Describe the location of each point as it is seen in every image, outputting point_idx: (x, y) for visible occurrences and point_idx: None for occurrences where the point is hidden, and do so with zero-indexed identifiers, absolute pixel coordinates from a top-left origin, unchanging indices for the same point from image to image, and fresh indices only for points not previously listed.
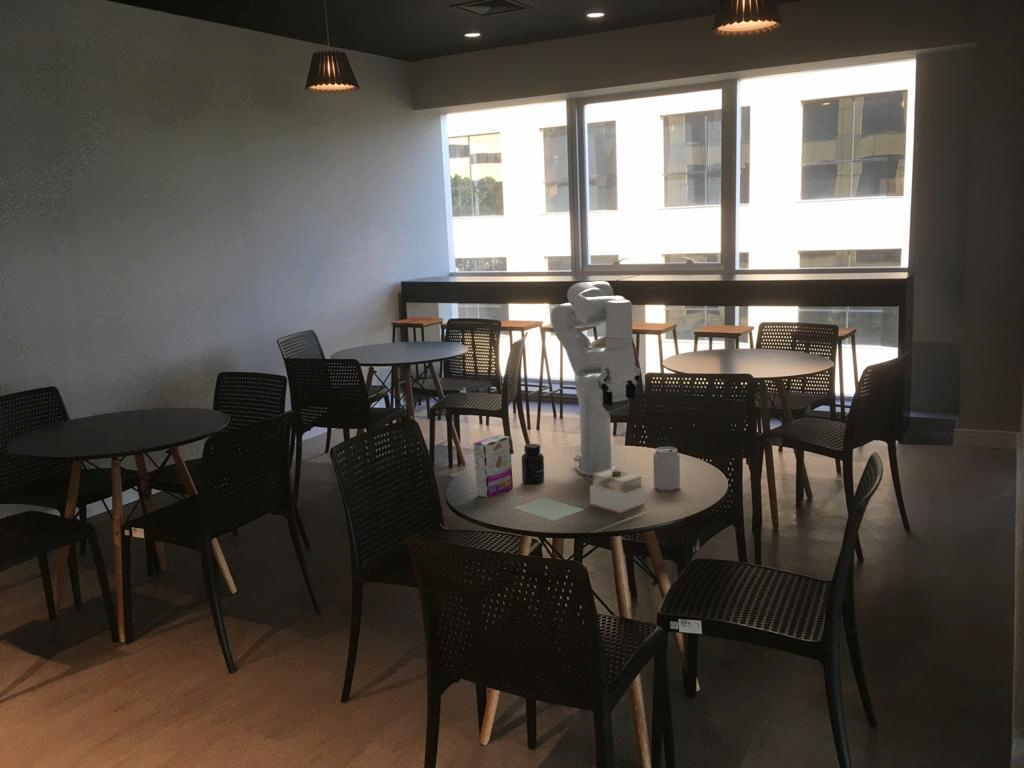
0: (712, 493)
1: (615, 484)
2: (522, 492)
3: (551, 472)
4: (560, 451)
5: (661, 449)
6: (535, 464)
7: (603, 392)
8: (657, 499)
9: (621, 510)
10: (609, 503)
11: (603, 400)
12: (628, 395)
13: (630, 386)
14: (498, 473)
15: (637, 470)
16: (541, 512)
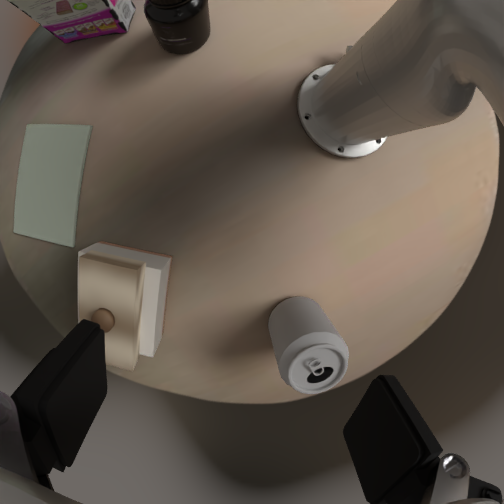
0: (299, 393)
1: None
2: (116, 58)
3: (281, 25)
4: None
5: (309, 364)
6: (154, 27)
7: (12, 399)
8: (215, 336)
9: None
10: None
11: (51, 352)
12: (370, 411)
13: (386, 485)
14: (71, 19)
15: (390, 198)
16: (27, 186)
